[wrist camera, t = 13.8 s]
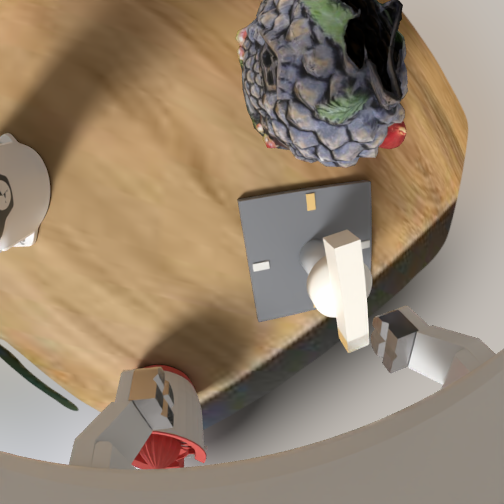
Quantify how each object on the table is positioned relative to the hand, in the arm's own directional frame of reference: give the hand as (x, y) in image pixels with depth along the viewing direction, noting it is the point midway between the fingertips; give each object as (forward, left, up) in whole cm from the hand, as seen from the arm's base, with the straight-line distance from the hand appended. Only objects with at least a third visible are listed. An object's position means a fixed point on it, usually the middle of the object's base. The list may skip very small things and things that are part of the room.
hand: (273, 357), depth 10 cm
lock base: (+12, -12, -33) cm, 36 cm away
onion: (+24, +6, -33) cm, 41 cm away
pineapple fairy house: (+11, +13, -33) cm, 37 cm away
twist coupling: (+12, -12, -23) cm, 28 cm away
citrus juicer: (-18, -35, -33) cm, 51 cm away
